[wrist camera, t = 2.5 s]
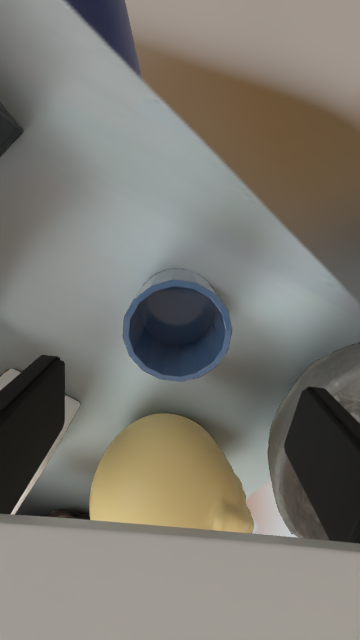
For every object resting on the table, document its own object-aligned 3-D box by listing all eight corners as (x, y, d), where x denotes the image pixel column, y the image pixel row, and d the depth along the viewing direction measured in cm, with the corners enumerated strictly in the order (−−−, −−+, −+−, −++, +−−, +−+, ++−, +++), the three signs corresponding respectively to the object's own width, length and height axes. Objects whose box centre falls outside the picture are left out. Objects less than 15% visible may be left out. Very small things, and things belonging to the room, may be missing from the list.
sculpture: (170, 502, 28) (167, 655, 18) (85, 445, 25) (24, 587, 15) (247, 445, 26) (295, 586, 15) (163, 374, 23) (153, 488, 12)
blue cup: (140, 262, 20) (127, 273, 14) (224, 274, 20) (241, 288, 15) (133, 341, 22) (119, 375, 16) (209, 350, 22) (220, 386, 17)
